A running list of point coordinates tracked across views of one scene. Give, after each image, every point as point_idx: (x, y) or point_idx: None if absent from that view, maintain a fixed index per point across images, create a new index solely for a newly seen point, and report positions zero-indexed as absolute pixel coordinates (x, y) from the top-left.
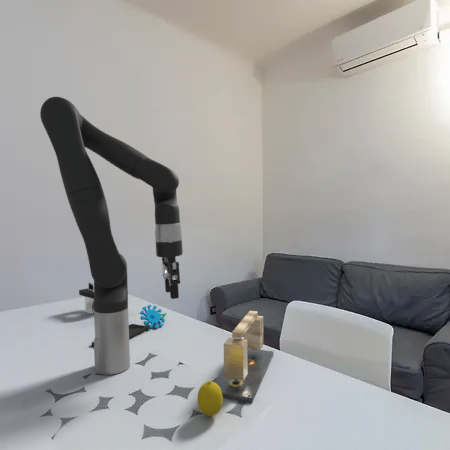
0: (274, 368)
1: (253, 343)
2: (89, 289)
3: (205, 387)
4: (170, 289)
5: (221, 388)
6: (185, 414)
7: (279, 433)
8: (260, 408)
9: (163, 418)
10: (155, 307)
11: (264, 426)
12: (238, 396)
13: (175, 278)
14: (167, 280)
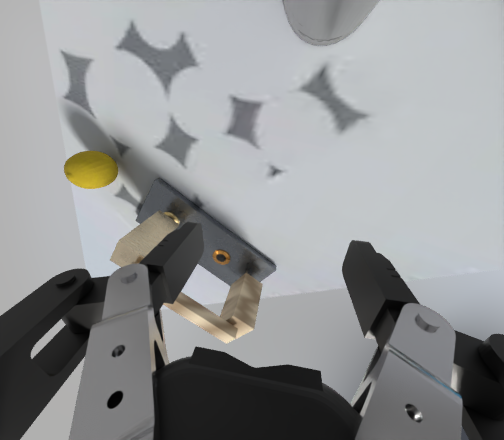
0: (210, 273)
1: (235, 286)
2: None
3: (65, 167)
4: (162, 248)
5: (159, 198)
6: (117, 132)
7: (91, 214)
8: (129, 219)
9: (107, 96)
10: None
11: (100, 208)
12: (141, 209)
13: (162, 341)
14: (377, 309)
